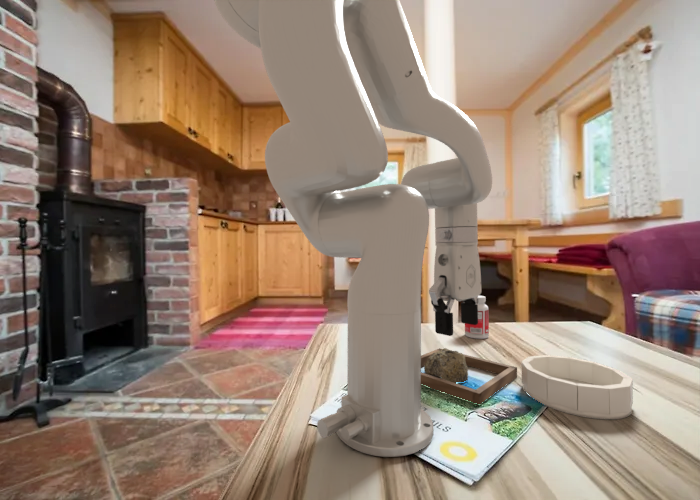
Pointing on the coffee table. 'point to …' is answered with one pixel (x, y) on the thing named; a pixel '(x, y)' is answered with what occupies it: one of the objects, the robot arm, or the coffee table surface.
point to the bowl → (578, 386)
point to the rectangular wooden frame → (475, 396)
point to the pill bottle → (479, 322)
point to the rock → (447, 365)
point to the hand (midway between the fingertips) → (457, 328)
